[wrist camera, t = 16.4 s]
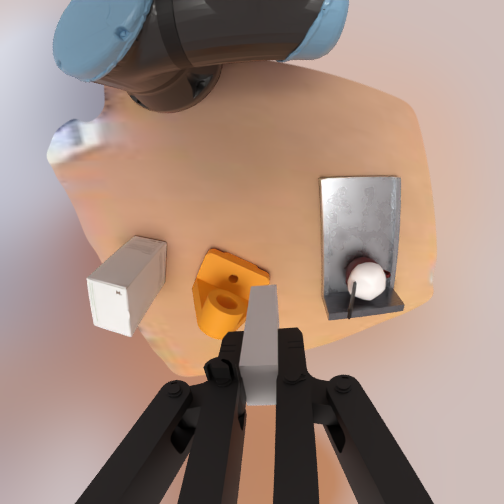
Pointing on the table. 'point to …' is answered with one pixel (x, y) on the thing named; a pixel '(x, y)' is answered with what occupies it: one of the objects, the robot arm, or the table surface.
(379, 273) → the cocoa
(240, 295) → the bracket
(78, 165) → the table surface
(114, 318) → the skincare box
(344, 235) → the grey dustpan
